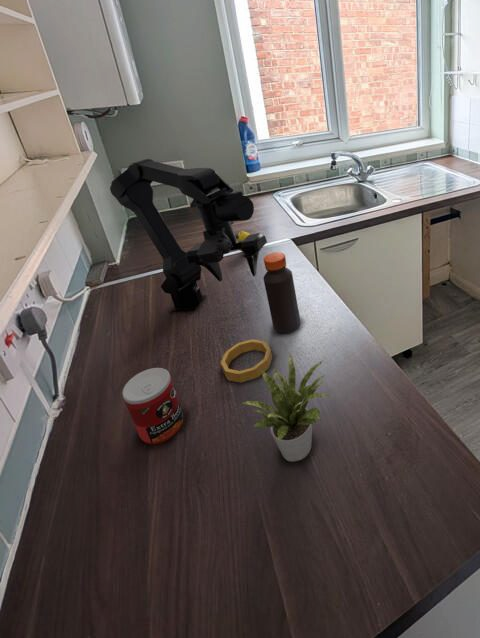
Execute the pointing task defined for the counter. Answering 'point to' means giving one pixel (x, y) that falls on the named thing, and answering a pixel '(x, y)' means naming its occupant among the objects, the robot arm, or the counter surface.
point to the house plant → (290, 412)
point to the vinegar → (281, 294)
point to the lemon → (242, 236)
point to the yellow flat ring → (251, 372)
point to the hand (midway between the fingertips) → (237, 278)
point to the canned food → (153, 405)
